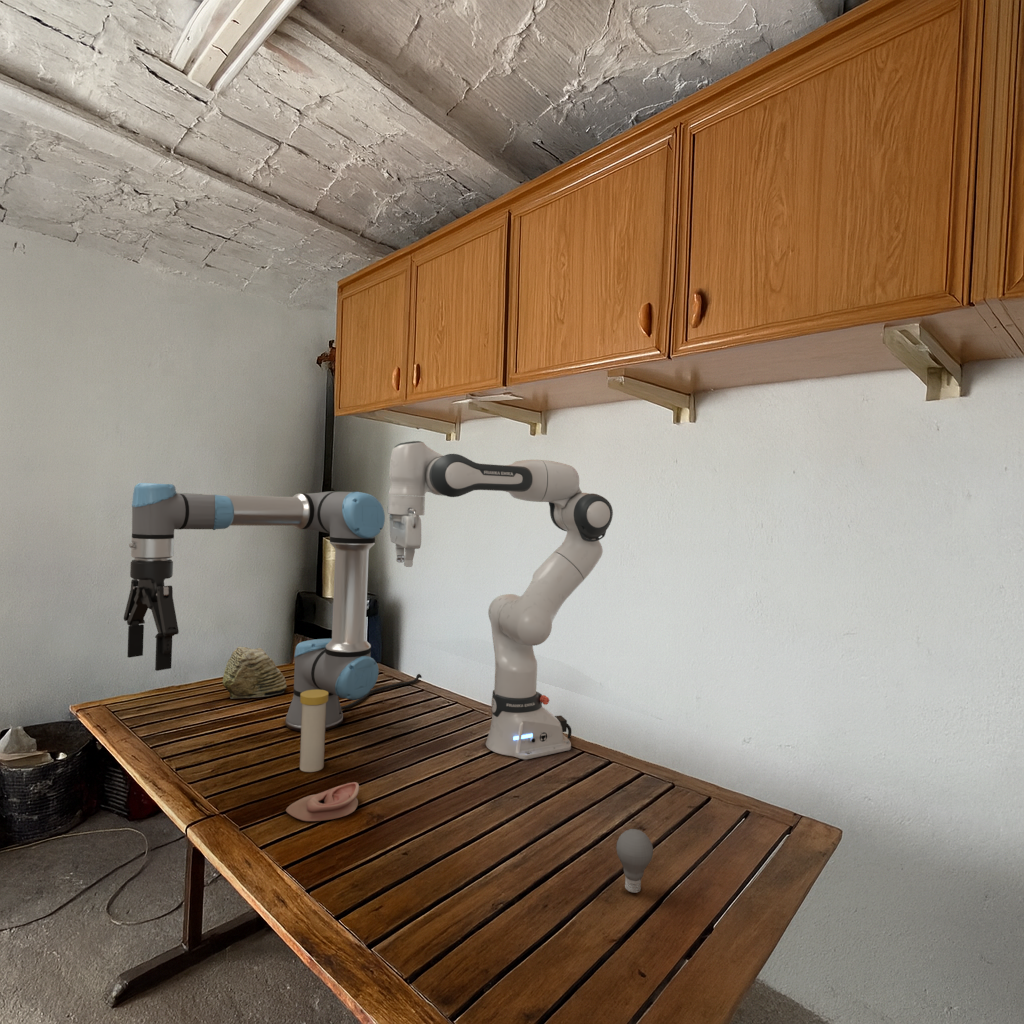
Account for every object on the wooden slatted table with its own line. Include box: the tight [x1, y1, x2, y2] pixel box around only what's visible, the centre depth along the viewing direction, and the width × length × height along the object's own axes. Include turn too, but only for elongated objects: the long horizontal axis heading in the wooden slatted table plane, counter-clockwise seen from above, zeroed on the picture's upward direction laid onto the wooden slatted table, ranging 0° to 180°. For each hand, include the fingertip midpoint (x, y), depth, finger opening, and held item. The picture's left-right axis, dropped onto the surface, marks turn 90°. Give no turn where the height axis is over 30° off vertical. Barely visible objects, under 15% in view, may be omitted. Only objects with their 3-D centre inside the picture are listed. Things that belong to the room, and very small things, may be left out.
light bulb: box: [615, 828, 654, 894], centre depth 106 cm, size 6×6×10 cm
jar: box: [299, 703, 326, 773], centre depth 148 cm, size 5×5×17 cm
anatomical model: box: [285, 781, 360, 822], centre depth 129 cm, size 13×4×12 cm
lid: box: [300, 689, 329, 705], centre depth 148 cm, size 6×6×2 cm
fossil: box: [222, 646, 288, 699], centre depth 198 cm, size 9×18×15 cm, turn 132°
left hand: (148, 662), depth 129 cm, fingers open, 13 cm apart
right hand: (404, 564), depth 154 cm, fingers open, 8 cm apart
